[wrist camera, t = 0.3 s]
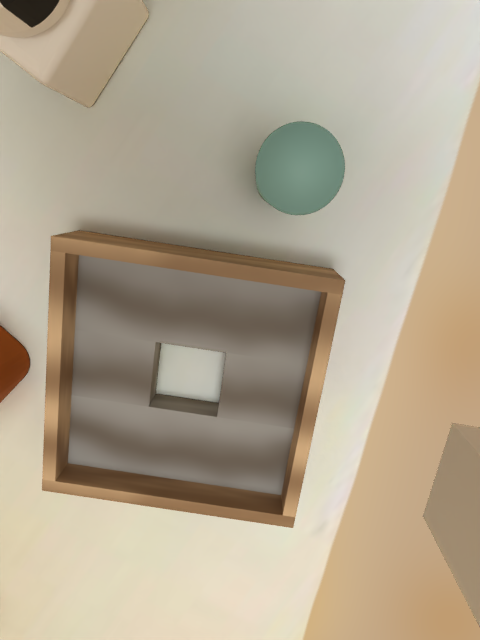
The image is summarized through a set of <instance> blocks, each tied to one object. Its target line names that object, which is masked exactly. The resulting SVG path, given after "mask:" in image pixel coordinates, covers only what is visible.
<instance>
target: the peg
mask: <svg viewBox="0 0 480 640" xmlns="http://www.w3.org/2000/svg"><path fill="white" fill-rule="evenodd" d="M344 171H345V162H344V156H343V152H342V149H341V147H340V145H339V143H338V141H337V140H336V139H335V137H334V136H333V135H332V134H331V133H330V132H329V131H328V130H326V129H325V128H323V127H321V126H320V125H317V124H314V123H310V122H293V123H289V124H286V125H284V126H282V127H280V128H278V129H277V130H275V131H274V132H273V133H271V134H270V135H269V136H268V138H267V139H266V140H265V141H264V143H263V144H262V146H261V148H260V150H259V153H258V156H257V160H256V167H255V174H256V184H257V189H258V191H259V193H260V195H261V197H262V198H263V199H264V200H265V201H266V202H267V203H269V204H270V205H272V206H273V207H274V208H276V209H277V210H279V211H281V212H284V213H287V214H291V215H305V214H310V213H313V212H316V211H318V210H320V209H321V208H323V207H325V206H326V205H327V204H328V203H329V202H330V201H331V200H332V199H333V198H334V197H335V195H336V194H337V192H338V191H339V189H340V187H341V184H342V181H343V177H344Z"/></svg>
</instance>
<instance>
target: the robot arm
mask: <svg viewBox="0 0 480 640" xmlns="http://www.w3.org/2000/svg"><path fill="white" fill-rule="evenodd" d="M423 517H424V519H425V521H426V523H427V525H428V527H429V529H430V531H431V533H432V535H433V537H434V539H435V541H436V543H437V545H438V547H439V549H440V550H441V552H442V554H443V556H444V558H445V560H446V562H447V564H448V566H449V568H450V570H451V572H452V574H453V576H454V578H455V580H456V582H457V584H458V586H459V588H460V589H461V591H462V593H463V595H464V597H465V599H466V601H467V603H468V605H469V607H470V609H471V611H472V613H473V615H474V617H475V619H476V621H477V623H478V625H479V627H480V427H474V426H468V425H462V424H456V423H452V425H451V428H450V432H449V435H448V438H447V441H446V445H445V447H444V451H443V454H442V457H441V460H440V463H439V467H438V470H437V473H436V476H435V479H434V482H433V486H432V489H431V492H430V495H429V498H428V501H427V505H426V508H425V511H424V514H423Z"/></svg>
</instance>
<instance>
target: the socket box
mask: <svg viewBox="0 0 480 640" xmlns="http://www.w3.org/2000/svg"><path fill="white" fill-rule="evenodd" d="M344 284H345V280H344V279H343V278H342V277H341V276H340V275H339V274H338V273H337V272H336V271H335V270H334V269H330V268H323V267H317V266H310V265H304V264H297V263H290V262H284V261H277V260H271V259H264V258H257V257H251V256H244V255H238V254H231V253H225V252H218V251H211V250H205V249H198V248H192V247H185V246H178V245H172V244H165V243H159V242H152V241H145V240H139V239H132V238H126V237H119V236H113V235H106V234H99V233H93V232H86V231H80V230H79V231H74V232H69V233H64V234H58V235H53V236H51V255H50V283H49V311H48V339H47V367H46V395H45V423H44V451H43V479H42V490H43V491H50V492H57V493H63V494H70V495H77V496H83V497H90V498H97V499H103V500H110V501H117V502H123V503H130V504H137V505H143V506H150V507H157V508H163V509H170V510H177V511H184V512H190V513H197V514H204V515H210V516H217V517H224V518H230V519H237V520H244V521H250V522H257V523H264V524H270V525H277V526H284V527H290V528H293V526H294V521H295V516H296V511H297V507H298V502H299V497H300V493H301V488H302V483H303V478H304V474H305V469H306V464H307V459H308V455H309V450H310V445H311V440H312V436H313V431H314V426H315V421H316V417H317V412H318V407H319V403H320V398H321V393H322V388H323V384H324V379H325V374H326V369H327V365H328V360H329V355H330V350H331V346H332V341H333V336H334V331H335V327H336V322H337V317H338V313H339V308H340V303H341V298H342V294H343V289H344ZM161 343H165V344H172V345H178V346H185V347H192V348H198V349H205V350H212V351H218V352H225V353H226V359H225V366H224V373H223V379H222V386H221V393H220V400H219V403H214V402H207V401H201V400H194V399H187V398H181V397H174V396H167V395H161V394H156V385H157V376H158V366H159V357H160V347H161Z"/></svg>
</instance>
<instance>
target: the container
mask: <svg viewBox="0 0 480 640" xmlns="http://www.w3.org/2000/svg"><path fill="white" fill-rule="evenodd" d="M148 16H149V13H148V10H147V8H146V6H145V5H144V3H143V1H142V0H0V51H1V52H2V53H4V54H5V55H6V56H7V57H9V58H10V59H11V60H12V61H14V62H15V63H16V64H17V65H19V66H20V67H21V68H22V69H24V70H25V71H26V72H27V73H29V74H30V75H31V76H32V77H34V78H35V79H36V80H37V81H39V82H40V83H41V84H43V85H45V86H47V87H49V88H51V89H53V90H55V91H57V92H59V93H61V94H63V95H65V96H66V97H68V98H70V99H72V100H74V101H76V102H78V103H80V104H82V105H84V106H86V107H91V106H92V105H93V104H94V102H95V101H96V99H97V98H98V96H99V95H100V93H101V91H102V90H103V88H104V87H105V85H106V83H107V82H108V80H109V79H110V77H111V76H112V74H113V72H114V71H115V69H116V68H117V66H118V64H119V63H120V61H121V60H122V58H123V57H124V55H125V53H126V52H127V50H128V49H129V47H130V45H131V44H132V42H133V41H134V39H135V38H136V36H137V34H138V33H139V31H140V30H141V28H142V26H143V25H144V23H145V22H146V20H147V19H148Z"/></svg>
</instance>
